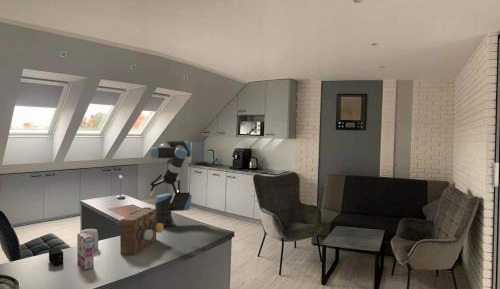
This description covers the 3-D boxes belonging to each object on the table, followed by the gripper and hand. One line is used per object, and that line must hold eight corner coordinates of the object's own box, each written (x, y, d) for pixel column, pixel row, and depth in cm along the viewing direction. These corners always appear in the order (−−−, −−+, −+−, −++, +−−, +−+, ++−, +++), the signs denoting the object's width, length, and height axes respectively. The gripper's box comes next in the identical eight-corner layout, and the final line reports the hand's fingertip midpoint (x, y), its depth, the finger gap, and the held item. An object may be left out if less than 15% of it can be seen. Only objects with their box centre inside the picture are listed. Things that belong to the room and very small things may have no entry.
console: (145, 238, 208) (144, 208, 208) (158, 239, 206) (158, 209, 206) (120, 254, 181) (120, 219, 180) (135, 255, 179) (135, 220, 178)
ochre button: (159, 230, 202) (159, 222, 202) (163, 231, 201) (163, 222, 201) (155, 233, 196) (154, 224, 196) (159, 233, 196) (159, 224, 195)
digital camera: (46, 262, 170) (46, 249, 169) (57, 259, 173) (57, 246, 173) (51, 268, 162) (51, 254, 162) (63, 264, 166) (63, 251, 166)
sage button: (148, 237, 188) (148, 228, 188) (153, 238, 187) (153, 228, 187) (143, 240, 182) (143, 231, 182) (148, 241, 182) (148, 231, 182)
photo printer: (78, 251, 184) (78, 230, 184) (80, 249, 189) (80, 228, 188) (97, 250, 187) (97, 229, 186) (99, 247, 191) (98, 227, 191)
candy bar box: (94, 267, 162) (94, 236, 162) (83, 270, 159) (83, 238, 158) (87, 261, 170) (86, 231, 170) (76, 264, 167) (76, 233, 166)
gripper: (153, 165, 197) (141, 195, 201) (191, 179, 204) (178, 207, 208) (155, 161, 204) (143, 190, 208) (191, 175, 211) (179, 202, 215)
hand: (161, 198), depth 208 cm, fingers open, 13 cm apart
